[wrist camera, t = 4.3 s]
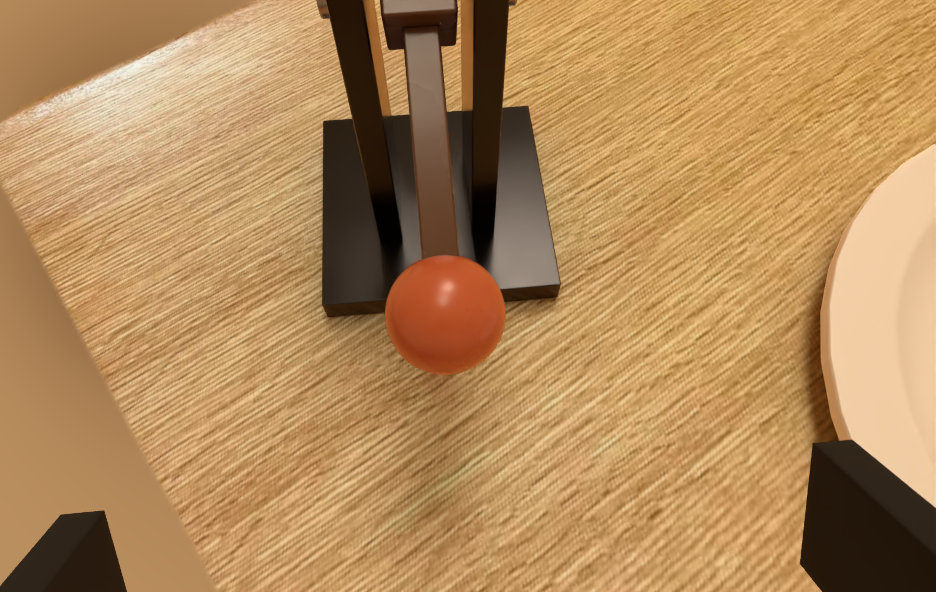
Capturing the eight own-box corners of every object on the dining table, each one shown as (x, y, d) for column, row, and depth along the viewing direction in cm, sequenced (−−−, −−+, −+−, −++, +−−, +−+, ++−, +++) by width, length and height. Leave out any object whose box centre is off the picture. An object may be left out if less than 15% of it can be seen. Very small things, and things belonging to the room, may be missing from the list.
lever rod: (504, 365, 21) (517, 373, 18) (394, 375, 21) (385, 385, 18) (469, -30, 22) (474, -99, 18) (361, -23, 22) (345, -91, 18)
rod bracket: (557, 297, 29) (624, 45, 16) (327, 317, 28) (218, 74, 16) (526, 122, 33) (560, -178, 21) (327, 137, 33) (243, -160, 20)
